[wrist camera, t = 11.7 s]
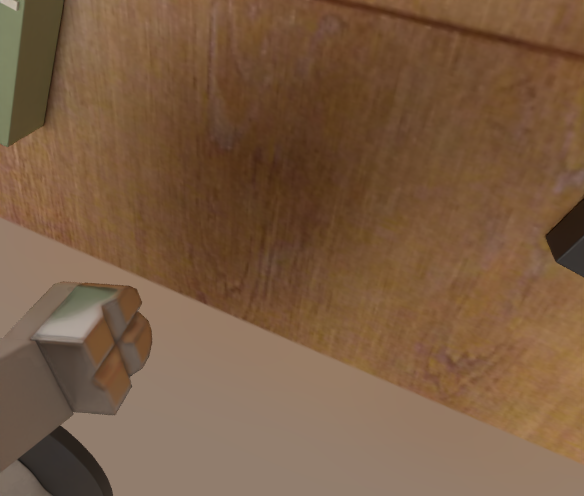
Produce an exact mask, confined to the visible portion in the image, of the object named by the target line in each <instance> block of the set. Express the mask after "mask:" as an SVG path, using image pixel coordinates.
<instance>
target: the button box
mask: <svg viewBox="0 0 584 496" xmlns="http://www.w3.org/2000/svg"><path fill="white" fill-rule="evenodd" d="M546 240H547V242H548V245H549V247H550V249H551V252H552V254H553V257H554V259H555V261H556V262H557V263H559V264H560V265H562V266H564V267H566V268H568V269H570V270H571V271H573V272H575V273H577V274H579V275H581V276H582V277H584V200H583V201H581V202H580V203H579V204H578V205H577V206H576V207H575V208H574V209H573V210H572V211H571V212H570V213H569V214H568V215H567V216H566V217H565V218H564V219H563V220H562V221H561V222H560V223H559V224H558V225H557V226H556V227H555V228H554V229H553V230H552V231H551V232H550V233H549V234H548V235H547V236H546Z"/></svg>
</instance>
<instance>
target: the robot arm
mask: <svg viewBox="0 0 584 496" xmlns="http://www.w3.org/2000/svg"><path fill="white" fill-rule="evenodd" d="M141 304H142V301H141V299H140V296H139V294H138V291H137V289H135V288H133V287H131V286H123V285H110V284H96V283H77V282H60V283H57V284H54V285H53V286H52V287H51V288H50V289H49V290H48V291H47V292H46V293H45V294H44V295H43V296H42V297H41V298H40V300H38V302H37V303H36V304H35V305H34V306H33V307H32V308H31V309H30V310H29V311H28V312H27V313H26V314H25V315H24V316H23V317H22V318H21V319H20V320H19V321H18V322H17V324H16V325H15V326H14V327H13V328H12V329H11V330H10V331H9V332H8V333H7V334H6V335H5V336H4V337H3V338H0V496H53V495H51V494H50V493H49V492H47V491H46V490H45V489H44V488H43V486H42V485H41V484H40V482H39V481H38V480H37V478H36V477H35V476H34V475H33V474H32V472H31V471H30V470H29V469H28V468H27V467H25V466H24V465H23V464H22V463H21V462H20V461H18V460H17V459H18V458H20V457H21V456H22V455H23V454H25V453H26V452H27V451H28V450H30V449H31V448H32V447H33V446H35V445H36V444H37V443H38V442H40V441H41V440H42V439H43V438H45V437H46V436H47V435H48V434H50V433H51V432H52V431H53V430H55V429H56V428H57V427H58V426H60V425H61V424H62V423H63V422H65V421H66V420H67V419H69V418H70V417H71V416H72V415H73V412H80V413H92V414H104V415H115V414H116V413H117V411H118V410H119V408H120V406H121V404H122V403H123V401H124V399H125V398H126V396H127V394H128V392H129V391H130V389H131V387H132V385H131V380H130V376H132V375H133V374H135V373H136V372H137V371H139V370H141V369H142V368H143V366H144V365H145V363H146V361H147V359H148V357H149V354H150V350H151V345H152V331H151V327H150V324H149V321H148V320H147V319H146V318H145V317H144V316H143V315H142V314H141V313H139V312H138V310H139V308H140V306H141Z"/></svg>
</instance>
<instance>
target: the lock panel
mask: <svg viewBox="0 0 584 496" xmlns="http://www.w3.org/2000/svg"><path fill="white" fill-rule="evenodd" d="M63 2H64V0H0V144H2V145H4V146H6V147H9V146H10V145H12V144H14V143H15V142H17V141H19V140H20V139H22V138H24V137H25V136H27V135H29V134H30V133H32V132H34V131H35V130H37V129H39V128H40V127H42V126H43V124H44V118H45V112H46V106H47V100H48V94H49V88H50V82H51V75H52V69H53V63H54V57H55V51H56V45H57V39H58V33H59V27H60V21H61V15H62V8H63Z"/></svg>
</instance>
